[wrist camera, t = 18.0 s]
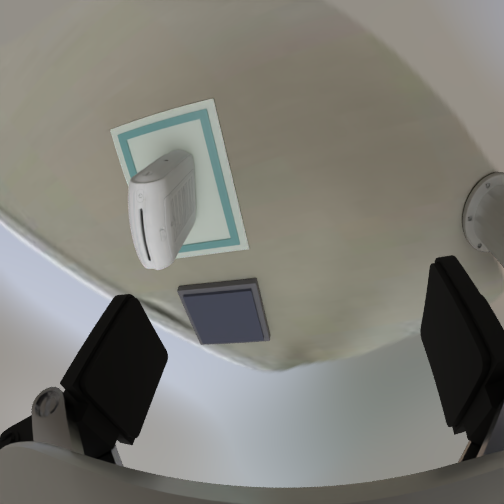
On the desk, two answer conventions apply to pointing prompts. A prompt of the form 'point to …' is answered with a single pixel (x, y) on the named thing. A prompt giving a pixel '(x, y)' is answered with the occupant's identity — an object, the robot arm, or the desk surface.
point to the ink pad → (226, 311)
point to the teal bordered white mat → (205, 168)
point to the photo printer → (162, 208)
